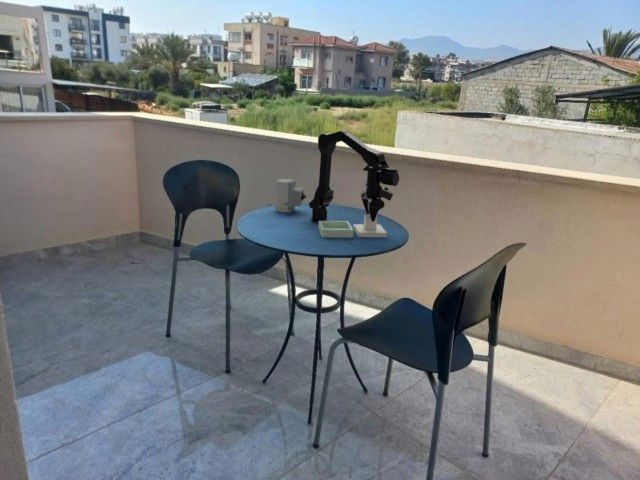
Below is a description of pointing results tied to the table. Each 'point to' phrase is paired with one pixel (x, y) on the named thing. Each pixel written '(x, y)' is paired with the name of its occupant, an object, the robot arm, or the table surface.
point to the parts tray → (335, 229)
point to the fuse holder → (369, 231)
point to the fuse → (369, 223)
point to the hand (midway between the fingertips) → (370, 218)
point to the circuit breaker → (288, 195)
